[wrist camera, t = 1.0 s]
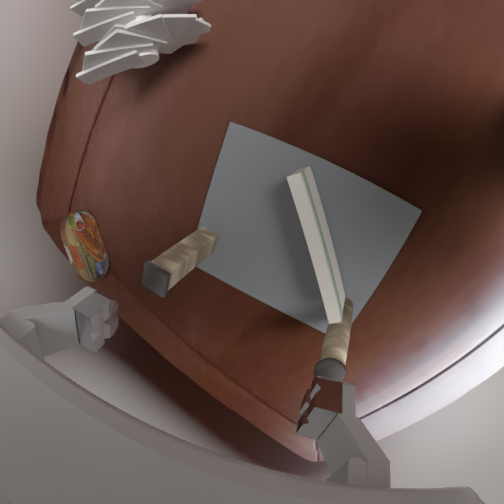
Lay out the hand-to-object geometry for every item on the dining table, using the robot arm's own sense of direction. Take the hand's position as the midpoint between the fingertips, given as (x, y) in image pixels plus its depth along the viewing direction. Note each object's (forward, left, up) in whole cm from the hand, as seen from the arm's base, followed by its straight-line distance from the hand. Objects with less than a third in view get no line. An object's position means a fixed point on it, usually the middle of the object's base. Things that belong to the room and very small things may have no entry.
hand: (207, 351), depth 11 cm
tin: (+37, +28, -32) cm, 56 cm away
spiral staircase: (+32, -19, -32) cm, 49 cm away
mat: (+1, +9, -32) cm, 33 cm away
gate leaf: (-3, +6, -31) cm, 31 cm away
